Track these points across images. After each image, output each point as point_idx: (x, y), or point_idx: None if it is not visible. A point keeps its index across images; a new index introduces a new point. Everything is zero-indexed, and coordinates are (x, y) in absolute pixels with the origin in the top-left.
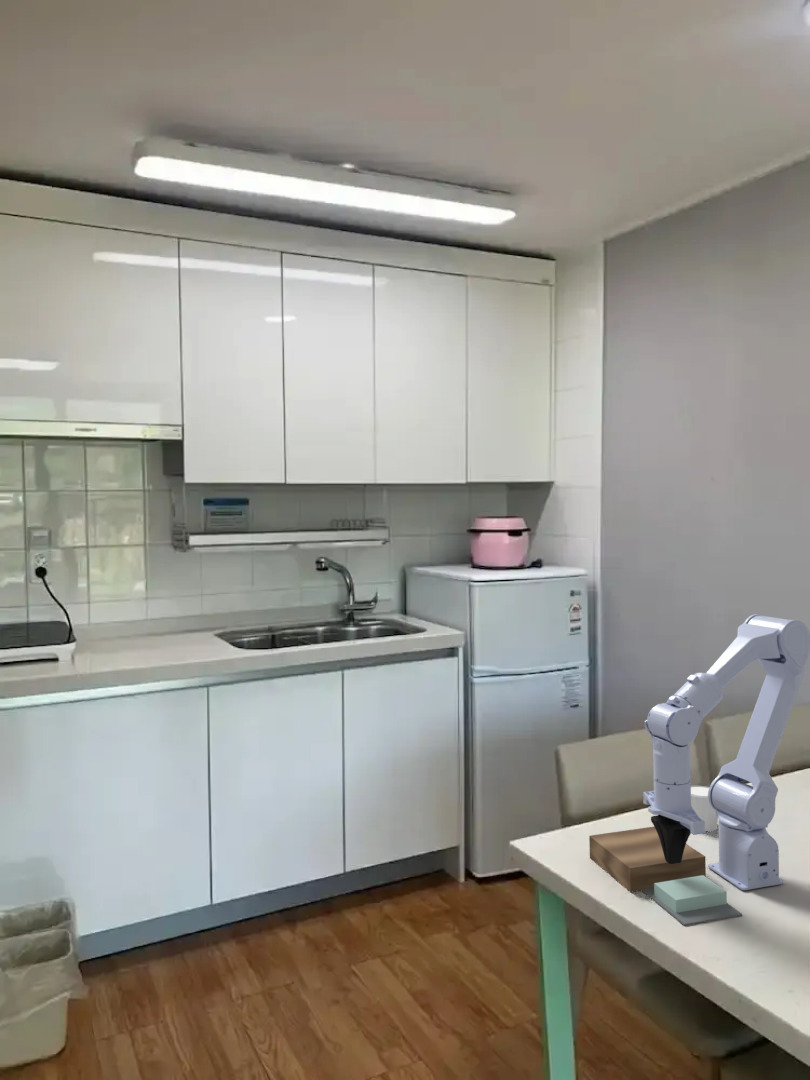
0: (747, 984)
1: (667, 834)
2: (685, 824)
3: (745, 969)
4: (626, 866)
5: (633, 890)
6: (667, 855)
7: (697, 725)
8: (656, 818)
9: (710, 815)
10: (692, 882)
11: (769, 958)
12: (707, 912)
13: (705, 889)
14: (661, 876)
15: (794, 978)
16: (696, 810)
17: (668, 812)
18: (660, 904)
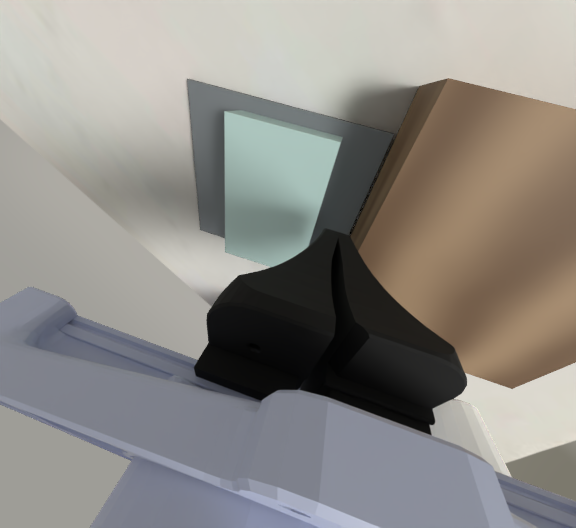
0: None
1: (263, 271)
2: (136, 357)
3: (18, 56)
4: (481, 87)
5: (413, 101)
6: (326, 236)
7: None
8: (404, 373)
9: (433, 433)
10: (284, 234)
11: (70, 143)
12: (220, 182)
13: (245, 228)
14: (367, 211)
15: (15, 125)
16: (461, 442)
17: (138, 455)
18: (294, 107)
